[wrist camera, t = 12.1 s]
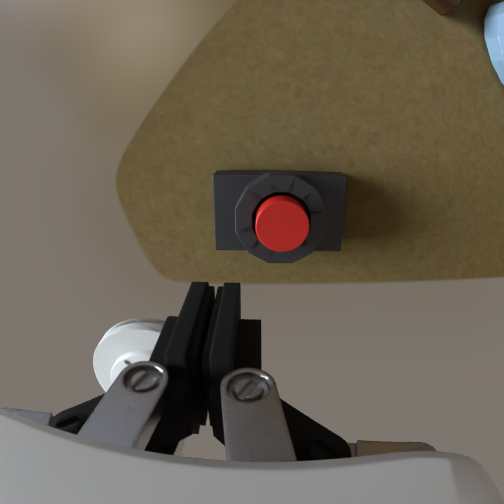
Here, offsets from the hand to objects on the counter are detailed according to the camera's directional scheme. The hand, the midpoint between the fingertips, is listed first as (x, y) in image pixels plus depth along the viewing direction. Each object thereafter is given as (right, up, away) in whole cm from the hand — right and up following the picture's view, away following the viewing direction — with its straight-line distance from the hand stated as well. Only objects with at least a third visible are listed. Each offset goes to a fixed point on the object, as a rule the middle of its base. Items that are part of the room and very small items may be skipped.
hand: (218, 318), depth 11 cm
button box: (+3, +6, +15) cm, 16 cm away
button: (+3, +5, +11) cm, 13 cm away
